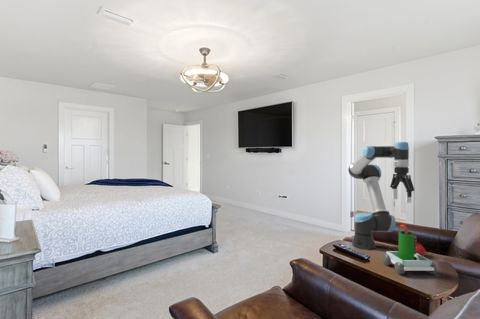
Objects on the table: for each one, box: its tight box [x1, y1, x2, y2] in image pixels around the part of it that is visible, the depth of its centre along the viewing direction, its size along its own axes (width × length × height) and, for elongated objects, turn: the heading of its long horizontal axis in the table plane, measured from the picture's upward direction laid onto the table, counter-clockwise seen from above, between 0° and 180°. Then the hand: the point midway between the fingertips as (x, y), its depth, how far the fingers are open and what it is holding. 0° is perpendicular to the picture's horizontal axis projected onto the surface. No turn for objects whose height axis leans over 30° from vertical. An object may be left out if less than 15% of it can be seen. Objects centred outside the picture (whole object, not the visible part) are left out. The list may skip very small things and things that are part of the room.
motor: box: [397, 224, 418, 260], centre depth 145 cm, size 10×9×20 cm
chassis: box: [382, 250, 438, 275], centre depth 145 cm, size 18×19×8 cm
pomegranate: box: [416, 241, 427, 257], centre depth 167 cm, size 10×10×9 cm
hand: (401, 200), depth 160 cm, fingers open, 13 cm apart
